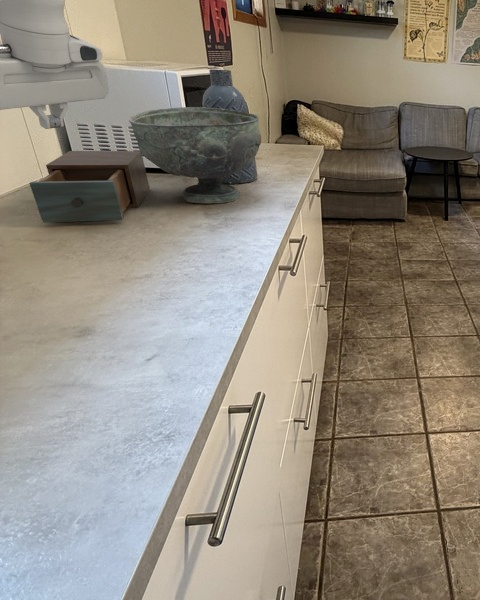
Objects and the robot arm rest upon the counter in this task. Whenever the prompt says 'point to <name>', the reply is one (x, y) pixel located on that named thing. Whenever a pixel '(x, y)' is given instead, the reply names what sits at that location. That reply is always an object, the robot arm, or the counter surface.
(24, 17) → the robot arm
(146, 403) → the counter surface
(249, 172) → the vase
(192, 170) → the decorative bowl
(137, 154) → the cabinet
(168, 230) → the counter surface
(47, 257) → the counter surface
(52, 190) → the drawer
